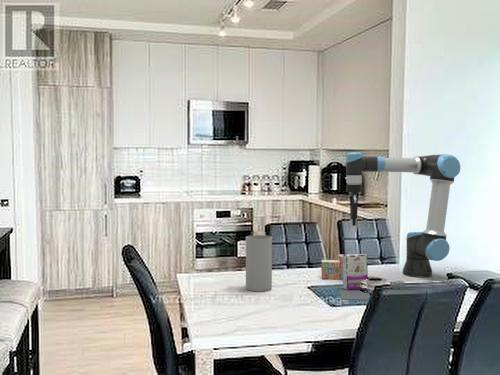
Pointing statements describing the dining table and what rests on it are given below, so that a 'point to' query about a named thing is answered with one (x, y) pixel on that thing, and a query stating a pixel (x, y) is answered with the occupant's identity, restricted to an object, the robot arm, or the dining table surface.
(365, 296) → the mat
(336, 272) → the stack of blocks
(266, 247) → the cylinder vase
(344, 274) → the candy bar box
